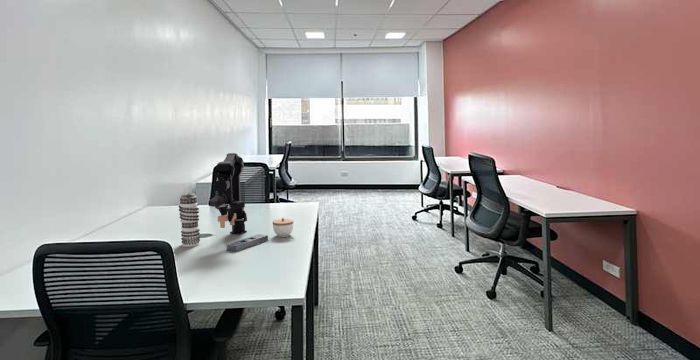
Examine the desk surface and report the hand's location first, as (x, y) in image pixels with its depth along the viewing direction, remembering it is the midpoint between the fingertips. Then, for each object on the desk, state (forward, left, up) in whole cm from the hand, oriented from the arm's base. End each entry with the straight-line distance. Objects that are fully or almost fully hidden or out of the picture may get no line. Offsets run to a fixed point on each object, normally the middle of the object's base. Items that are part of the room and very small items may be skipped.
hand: (227, 221), depth 203 cm
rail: (+8, +5, -12) cm, 15 cm away
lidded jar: (+12, +27, -12) cm, 32 cm away
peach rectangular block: (0, 0, -2) cm, 2 cm away
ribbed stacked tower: (-18, -7, -12) cm, 23 cm away
